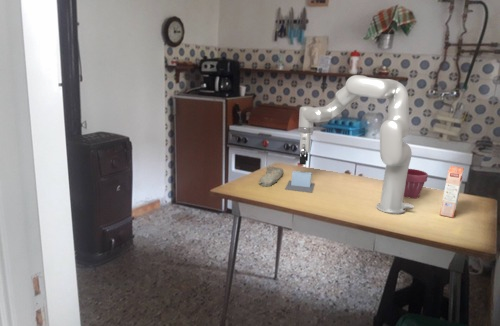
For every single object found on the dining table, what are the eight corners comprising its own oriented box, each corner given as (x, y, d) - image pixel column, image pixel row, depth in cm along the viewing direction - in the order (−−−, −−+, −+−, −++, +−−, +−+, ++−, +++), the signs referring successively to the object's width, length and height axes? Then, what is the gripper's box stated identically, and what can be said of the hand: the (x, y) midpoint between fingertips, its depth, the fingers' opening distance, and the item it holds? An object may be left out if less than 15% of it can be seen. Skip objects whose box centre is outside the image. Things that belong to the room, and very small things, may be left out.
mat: (314, 184, 212) (314, 183, 212) (312, 192, 197) (312, 192, 197) (289, 181, 215) (289, 180, 215) (284, 189, 200) (285, 188, 200)
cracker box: (454, 218, 171) (462, 173, 166) (439, 215, 174) (447, 170, 169) (456, 210, 183) (464, 167, 178) (442, 207, 186) (450, 165, 181)
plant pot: (400, 199, 194) (404, 174, 191) (390, 190, 208) (393, 167, 205) (428, 200, 195) (433, 176, 192) (416, 192, 208) (420, 169, 205)
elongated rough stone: (254, 188, 205) (272, 191, 202) (255, 179, 203) (273, 182, 201) (270, 170, 237) (286, 172, 234) (271, 161, 235) (287, 164, 233)
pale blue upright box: (310, 185, 209) (311, 172, 207) (309, 187, 205) (311, 174, 203) (292, 183, 211) (293, 170, 209) (291, 185, 207) (292, 172, 205)
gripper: (311, 133, 192) (309, 166, 196) (314, 128, 208) (312, 159, 212) (296, 132, 194) (294, 165, 197) (300, 128, 210) (298, 158, 214)
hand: (303, 162), depth 205 cm, fingers open, 9 cm apart
